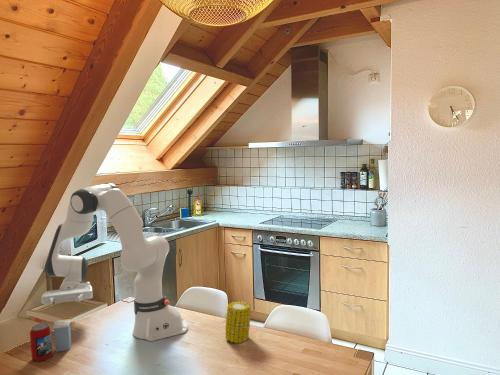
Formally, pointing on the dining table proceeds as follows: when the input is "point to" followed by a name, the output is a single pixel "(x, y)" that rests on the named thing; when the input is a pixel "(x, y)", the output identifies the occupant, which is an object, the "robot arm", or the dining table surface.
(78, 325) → the dining table surface
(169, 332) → the robot arm
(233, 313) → the food
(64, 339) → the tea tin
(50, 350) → the beverage can
